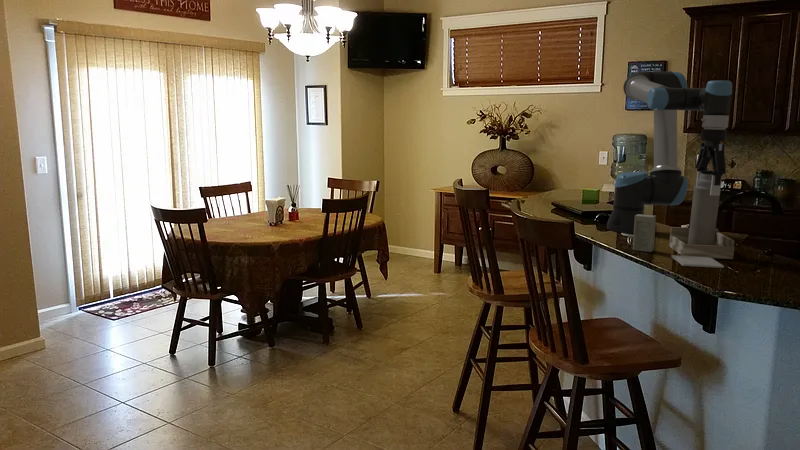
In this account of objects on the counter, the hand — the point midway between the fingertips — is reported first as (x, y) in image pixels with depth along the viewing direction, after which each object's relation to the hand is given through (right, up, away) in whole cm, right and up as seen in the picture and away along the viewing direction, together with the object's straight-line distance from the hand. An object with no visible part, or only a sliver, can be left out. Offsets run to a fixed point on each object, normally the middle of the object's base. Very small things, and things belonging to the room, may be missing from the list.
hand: (707, 192), depth 202 cm
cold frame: (0, -20, +4) cm, 21 cm away
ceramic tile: (-8, -23, -10) cm, 26 cm away
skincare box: (-19, -20, +6) cm, 28 cm away
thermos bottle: (0, -20, +4) cm, 21 cm away
